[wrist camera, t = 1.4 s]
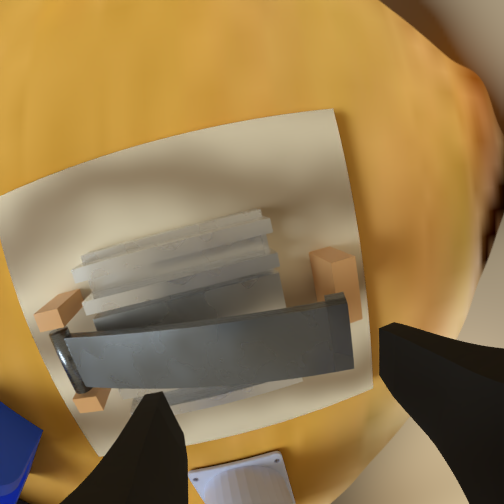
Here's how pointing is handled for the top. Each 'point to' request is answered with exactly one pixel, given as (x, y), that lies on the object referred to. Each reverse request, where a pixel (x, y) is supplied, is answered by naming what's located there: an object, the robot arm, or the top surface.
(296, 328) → the retention strap
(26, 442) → the bracket
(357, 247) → the board
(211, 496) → the robot arm
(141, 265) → the heat sink
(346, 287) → the lugs
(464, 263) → the top surface
